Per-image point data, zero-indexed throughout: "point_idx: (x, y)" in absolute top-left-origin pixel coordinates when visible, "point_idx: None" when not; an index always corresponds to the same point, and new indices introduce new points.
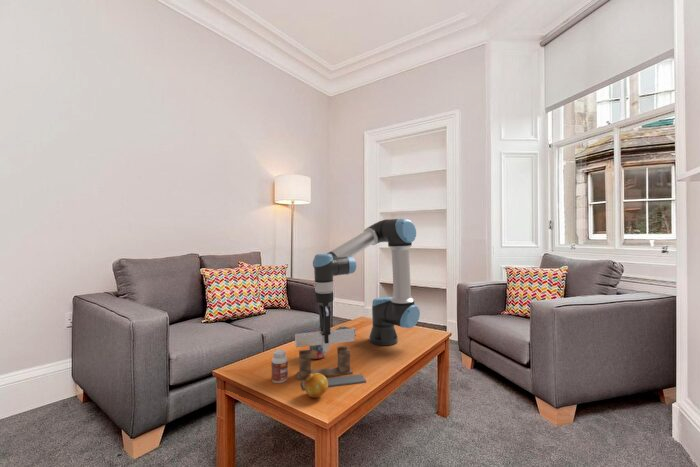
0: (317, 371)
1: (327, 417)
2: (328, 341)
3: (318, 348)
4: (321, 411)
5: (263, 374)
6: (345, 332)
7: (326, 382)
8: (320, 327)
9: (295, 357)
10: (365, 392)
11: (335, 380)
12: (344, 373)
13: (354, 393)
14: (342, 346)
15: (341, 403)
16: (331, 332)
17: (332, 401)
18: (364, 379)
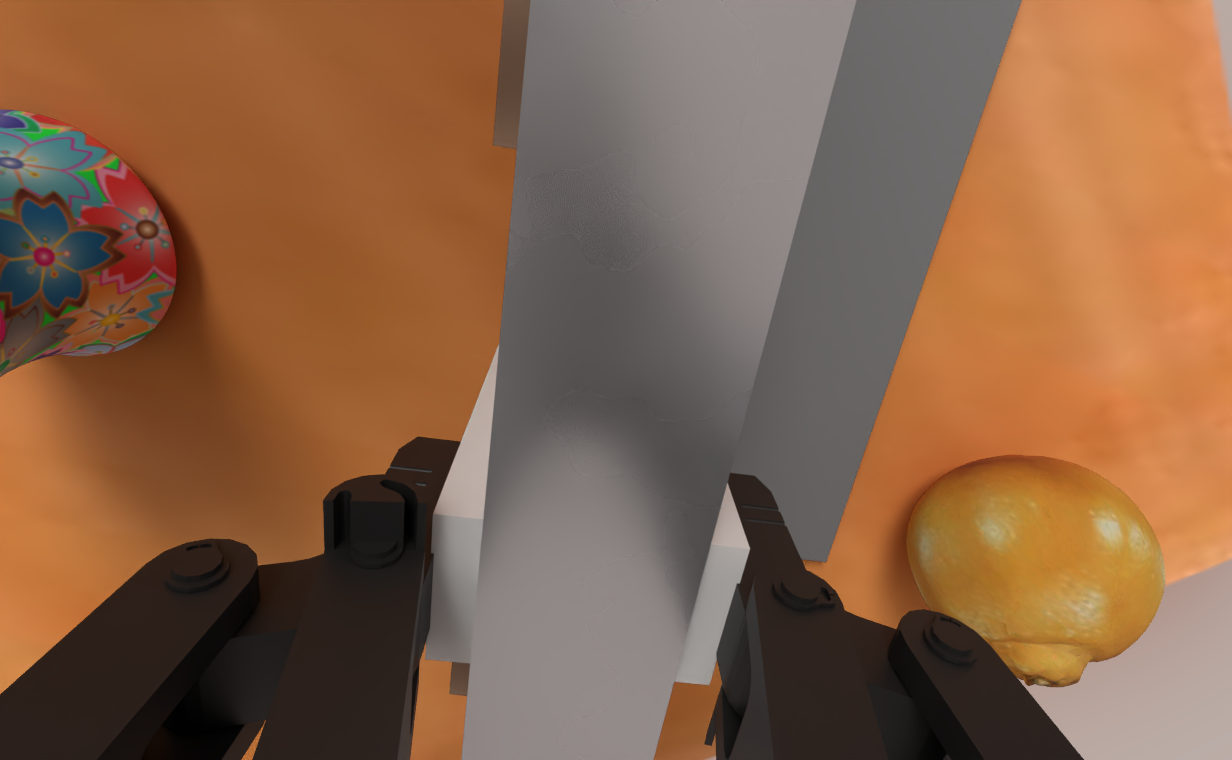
0: None
1: None
2: (774, 499)
3: (59, 274)
4: (1177, 524)
5: (414, 733)
6: None
7: (1140, 514)
8: (264, 717)
9: (61, 459)
10: (1204, 79)
11: (834, 279)
12: None
13: (1141, 196)
14: (516, 30)
15: (1195, 368)
16: (716, 499)
17: (1118, 418)
18: None
